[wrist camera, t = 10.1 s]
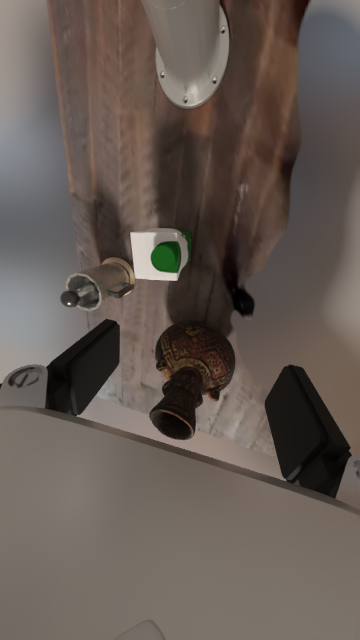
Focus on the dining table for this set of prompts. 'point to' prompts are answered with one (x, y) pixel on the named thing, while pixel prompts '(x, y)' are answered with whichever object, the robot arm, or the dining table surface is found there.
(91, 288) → the ball-topped lever
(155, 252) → the milk carton
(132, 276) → the cork coaster
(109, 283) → the white mug
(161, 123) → the dining table surface
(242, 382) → the dining table surface
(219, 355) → the ceramic vessel
